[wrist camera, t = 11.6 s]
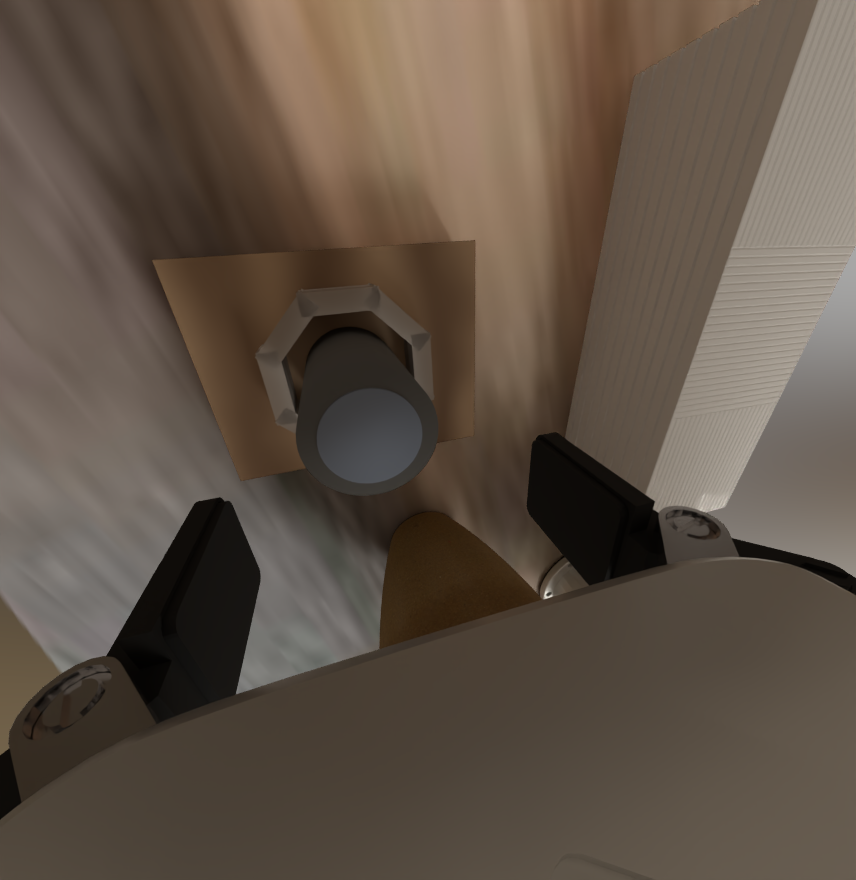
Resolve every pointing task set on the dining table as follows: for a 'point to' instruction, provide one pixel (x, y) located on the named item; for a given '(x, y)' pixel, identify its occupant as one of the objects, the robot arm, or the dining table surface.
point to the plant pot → (443, 580)
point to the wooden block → (321, 332)
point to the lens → (362, 415)
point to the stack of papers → (719, 247)
